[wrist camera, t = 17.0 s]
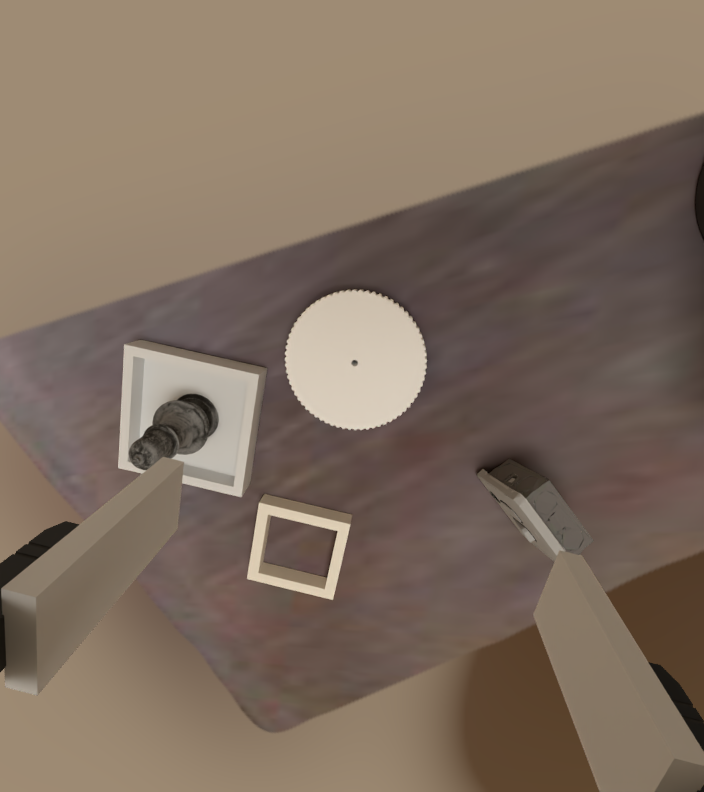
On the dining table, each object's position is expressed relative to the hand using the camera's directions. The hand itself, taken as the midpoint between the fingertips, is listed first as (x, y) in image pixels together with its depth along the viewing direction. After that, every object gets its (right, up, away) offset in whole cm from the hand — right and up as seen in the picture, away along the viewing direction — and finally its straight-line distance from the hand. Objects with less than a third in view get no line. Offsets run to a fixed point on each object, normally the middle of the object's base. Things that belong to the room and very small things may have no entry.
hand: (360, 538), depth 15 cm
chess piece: (-17, +3, +34) cm, 38 cm away
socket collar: (-6, -12, +38) cm, 40 cm away
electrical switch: (+18, -5, +33) cm, 38 cm away
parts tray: (-17, +3, +34) cm, 39 cm away
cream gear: (0, +9, +31) cm, 32 cm away
